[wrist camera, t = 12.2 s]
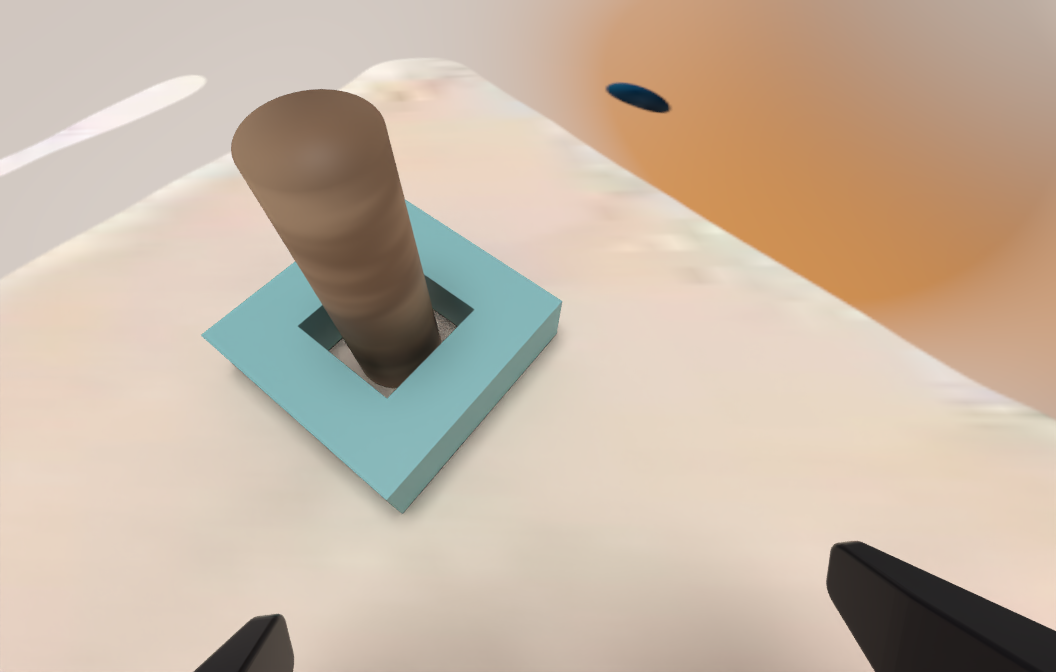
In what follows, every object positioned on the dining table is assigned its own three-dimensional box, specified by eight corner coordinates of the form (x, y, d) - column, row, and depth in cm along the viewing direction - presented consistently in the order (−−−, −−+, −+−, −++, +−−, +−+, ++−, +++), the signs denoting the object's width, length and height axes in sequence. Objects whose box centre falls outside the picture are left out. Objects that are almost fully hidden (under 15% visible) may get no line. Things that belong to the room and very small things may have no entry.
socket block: (402, 513, 20) (386, 500, 18) (235, 365, 23) (200, 335, 21) (556, 333, 25) (562, 301, 22) (399, 228, 28) (388, 188, 25)
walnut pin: (380, 402, 23) (260, 213, 12) (346, 338, 24) (212, 118, 13) (456, 362, 24) (411, 154, 13) (419, 303, 25) (351, 73, 14)
